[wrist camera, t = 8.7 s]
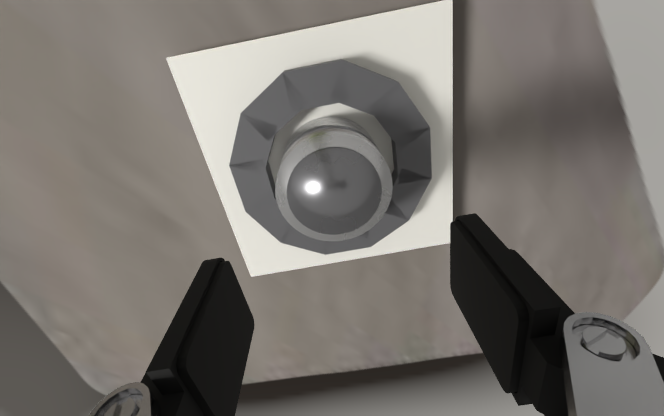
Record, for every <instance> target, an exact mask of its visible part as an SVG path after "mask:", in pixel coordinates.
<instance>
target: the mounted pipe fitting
mask: <svg viewBox="0 0 664 416" xmlns="http://www.w3.org/2000/svg"><path fill="white" fill-rule="evenodd" d="M166 59H167V62H168V64H169V67H170V69H171V72H172V75H173V77H174V80H175V82H176V85H177V87H178V90H179V93H180V95H181V98H182V100H183V103H184V105H185V108H186V111H187V113H188V116H189V118H190V121H191V124H192V126H193V129H194V131H195V134H196V136H197V139H198V142H199V144H200V147H201V149H202V152H203V154H204V157H205V160H206V162H207V165H208V167H209V170H210V172H211V175H212V178H213V180H214V183H215V185H216V188H217V190H218V193H219V196H220V198H221V201H222V203H223V206H224V208H225V211H226V214H227V216H228V219H229V221H230V224H231V227H232V229H233V232H234V234H235V237H236V239H237V242H238V245H239V247H240V250H241V252H242V255H243V257H244V260H245V263H246V265H247V268H248V270H249V273H250V275H251V277H253V276H259V275H265V274H271V273H276V272H282V271H288V270H294V269H300V268H306V267H312V266H318V265H323V264H329V263H335V262H341V261H347V260H353V259H359V258H365V257H370V256H376V255H382V254H388V253H394V252H400V251H406V250H412V249H417V248H423V247H429V246H435V245H441V244H447V243H450V224H451V222H453V0H443V1H438V2H433V3H428V4H424V5H419V6H414V7H409V8H404V9H400V10H395V11H390V12H385V13H380V14H375V15H371V16H366V17H361V18H356V19H351V20H347V21H342V22H337V23H332V24H327V25H322V26H318V27H313V28H308V29H303V30H298V31H294V32H289V33H284V34H279V35H274V36H269V37H265V38H260V39H255V40H250V41H245V42H241V43H236V44H231V45H226V46H221V47H216V48H212V49H207V50H202V51H197V52H192V53H188V54H183V55H178V56H173V57H168V58H166ZM326 116H337V117H343V118H346V119H349V120H352V121H354V122H356V123H357V124H359V125H360V126H362V127H363V128H364V129H365V130H366V131H367V132H368V133H369V134H370V136H371V137H372V139H373V140H374V142H375V144H376V146H377V147H378V149H379V151H380V152H381V154H382V156H383V158H384V159H385V161H386V163H387V165H388V167H389V169H390V173H391V176H392V185H393V190H392V197H391V200H390V204H389V206H388V208H387V210H386V212H385V214H384V215H383V217H382V218H381V219H380V221H379V222H378V223H377V224H376V225H375V226H373V227H372V228H371V229H370V230H368V231H366V232H365V233H363V234H361V235H359V236H357V237H354V238H351V239H347V240H343V241H322V240H317V239H314V238H311V237H308V236H306V235H304V234H302V233H300V232H299V231H297V230H296V229H295V228H293V227H292V226H291V225H290V224H289V223H288V222H287V221H286V219H285V218H284V216H283V215H282V213H281V211H280V209H279V207H278V204H277V200H276V195H275V184H276V178H277V174H278V170H279V167H280V163H281V159H282V156H283V152H284V149H285V146H286V144H287V142H288V140H289V138H290V137H291V136H292V134H293V133H294V132H295V131H296V130H297V129H298V128H299V127H301V126H302V125H303V124H305V123H307V122H308V121H311V120H313V119H316V118H320V117H326Z"/></svg>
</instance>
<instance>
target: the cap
mask: <svg viewBox="0 0 664 416" xmlns="http://www.w3.org/2000/svg"><path fill="white" fill-rule="evenodd" d="M392 190H393V185H392V176H391V173H390V169H389V167H388V165H387V163H386V161H385V159H384V158H383V156H382V154H381V152H380V151H379V149H378V147H377V146H376V144H375V142H374V140H373V139H372V137H371V136H370V134H369V133H368V132H367V131H366V130H365V129H364V128H363V127H362V126H360V125H359V124H357V123H356V122H354V121H352V120H349V119H346V118H343V117H337V116H326V117H320V118H316V119H313V120H311V121H308V122H307V123H305V124H303V125H302V126H301V127H299V128H298V129H297V130H296V131H295V132H294V133H293V134H292V136H291V137H290V138H289V140H288V142H287V144H286V146H285V149H284V152H283V156H282V159H281V163H280V167H279V170H278V174H277V178H276V184H275V195H276V200H277V204H278V207H279V209H280V211H281V213H282V215H283V216H284V218H285V219H286V221H287V222H288V223H289V224H290V225H291V226H292V227H293V228H295V229H296V230H297V231H299V232H300V233H302V234H304V235H306V236H308V237H311V238H314V239H317V240H322V241H343V240H347V239H351V238H354V237H357V236H359V235H361V234H363V233H365V232H366V231H368V230H370V229H371V228H372V227H373V226H375V225H376V224H377V223H378V222H379V221H380V219H381V218H382V217H383V215H384V214H385V212H386V210H387V208H388V206H389V204H390V200H391V197H392Z"/></svg>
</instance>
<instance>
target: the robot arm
mask: <svg viewBox="0 0 664 416" xmlns="http://www.w3.org/2000/svg"><path fill="white" fill-rule="evenodd" d="M450 285H451V291H452V294H453V296H454V298H455V300H456V302H457V304H458V306H459V308H460V310H461V311H462V313H463V315H464V317H465V319H466V321H467V323H468V325H469V326H470V328H471V330H472V332H473V334H474V336H475V338H476V340H477V342H478V343H479V345H480V347H481V349H482V351H483V353H484V355H485V357H486V358H487V360H488V362H489V364H490V366H491V368H492V370H493V372H494V373H495V375H496V377H497V379H498V381H499V383H500V385H501V387H502V388H503V390H504V391H505V392H506V393H512V395H513V396H514V398H515V400H516V402H517V404H518V405H527V404H533V405H534V407H535V409H536V410H537V411H539V412H540V413H543V414H544V416H664V358H663V357H660V356H657V355H655V354H652V352H651V349H650V347H649V345H648V344H647V343H646V341H645V339H644V337H642V336H641V335H640V334H639V333H638V332H637V331H636V330H635V329H633V328H632V327H630V326H629V325H627V324H626V323H624V322H622V321H620V320H618V319H615V318H613V317H611V316H607V315H604V314H600V313H592V312H582V313H574V312H573V311H572V310H571V309H570V308H569V307H568V306H567V305H566V304H565V303H564V301H563V300H562V299H561V298H560V297H559V296H558V295H557V294H556V293H555V292H554V291H553V290H552V289H551V288H550V287H549V286H548V284H547V283H546V282H545V281H544V280H543V279H542V278H541V277H540V276H539V275H538V274H537V273H536V272H535V271H534V270H533V269H532V267H531V266H530V265H529V264H528V263H527V262H526V261H525V260H524V259H523V258H522V257H521V256H520V255H519V254H518V253H517V252H516V251H515V250H512V249H508V248H507V247H506V246H505V245H504V244H503V242H502V241H501V240H500V239H499V238H498V237H497V236H496V235H495V234H494V233H493V232H492V230H491V229H490V228H489V227H488V226H487V225H486V224H485V223H484V222H483V221H482V220H481V218H480V217H479V216H478V215H477V214H469V215H463V216H457V217H456V220H455V222H451V224H450ZM253 330H254V319H253V316H252V314H251V311H250V309H249V306H248V304H247V302H246V299H245V297H244V294H243V292H242V290H241V287H240V285H239V283H238V280H237V278H236V275H235V273H234V271H233V268H232V266H231V264H230V262H229V261H225V260H224V259H223V258H216V259H210V260H205V261H203V263H202V264H201V266H200V268H199V270H198V272H197V274H196V276H195V278H194V280H193V282H192V284H191V286H190V288H189V289H188V291H187V293H186V295H185V297H184V299H183V301H182V303H181V305H180V307H179V309H178V311H177V313H176V315H175V317H174V318H173V320H172V322H171V324H170V326H169V328H168V330H167V332H166V334H165V336H164V338H163V340H162V342H161V344H160V346H159V347H158V349H157V351H156V353H155V355H154V357H153V359H152V361H151V363H150V365H149V367H148V369H147V371H146V373H145V375H144V377H143V379H142V381H141V383H138V382H135V383H129V384H126V385H124V386H121V387H119V388H117V389H116V390H114V391H112V392H111V393H109V394H108V395H107V396H106V397H105V398H103V399H102V400H101V401H100V402H99V403H98V404H97V405H96V406H95V408H94V409H93V410H92V411H91V412H90V414H89V415H88V416H235V412H236V407H237V403H238V398H239V394H240V389H241V385H242V380H243V376H244V371H245V367H246V362H247V357H248V353H249V348H250V344H251V339H252V335H253Z"/></svg>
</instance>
